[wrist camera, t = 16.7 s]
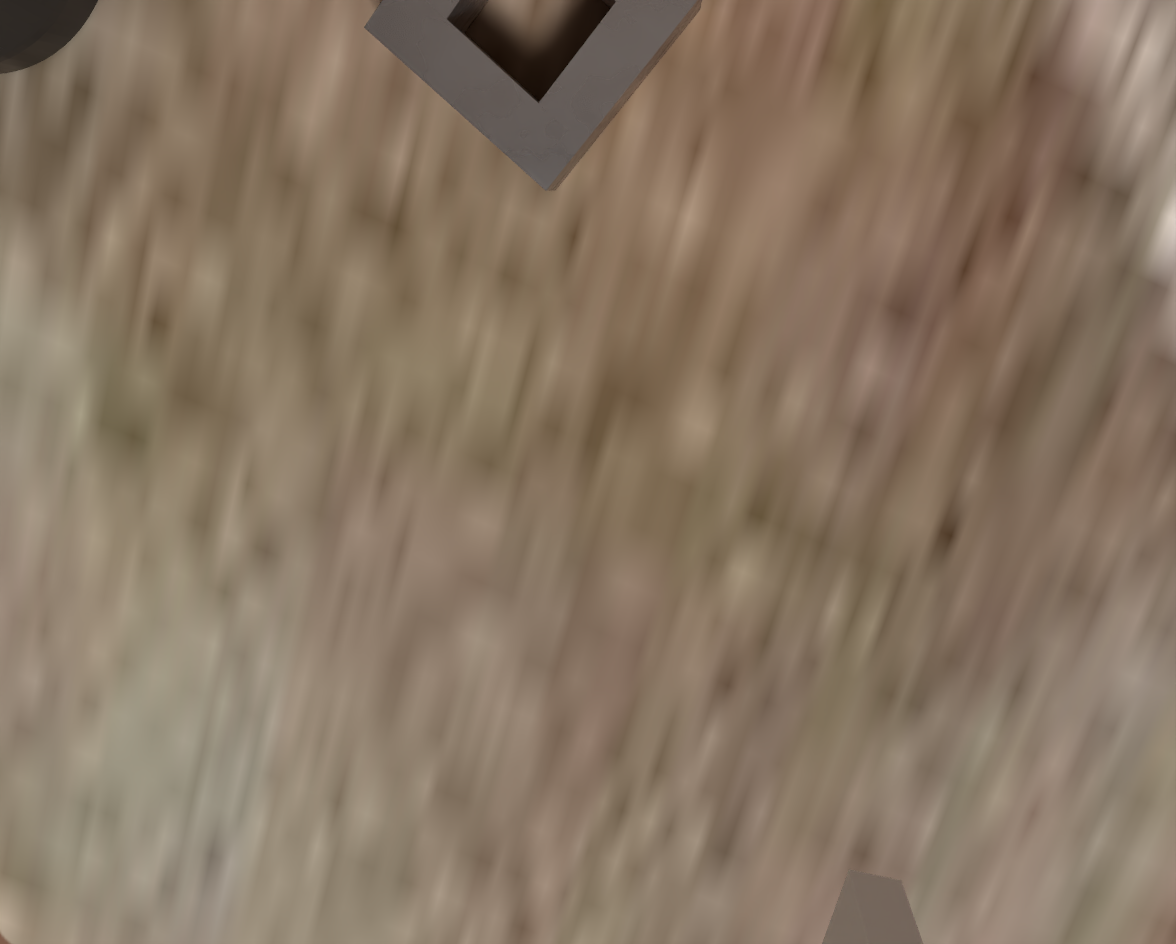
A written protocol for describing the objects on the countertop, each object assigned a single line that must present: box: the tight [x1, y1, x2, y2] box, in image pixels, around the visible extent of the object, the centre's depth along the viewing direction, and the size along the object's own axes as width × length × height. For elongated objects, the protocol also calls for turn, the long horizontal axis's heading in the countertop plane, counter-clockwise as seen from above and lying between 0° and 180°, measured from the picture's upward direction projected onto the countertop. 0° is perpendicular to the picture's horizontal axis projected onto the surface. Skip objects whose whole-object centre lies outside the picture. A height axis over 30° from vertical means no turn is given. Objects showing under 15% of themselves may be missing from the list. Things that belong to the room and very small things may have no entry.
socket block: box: [364, 0, 702, 191], centre depth 37 cm, size 10×10×4 cm
